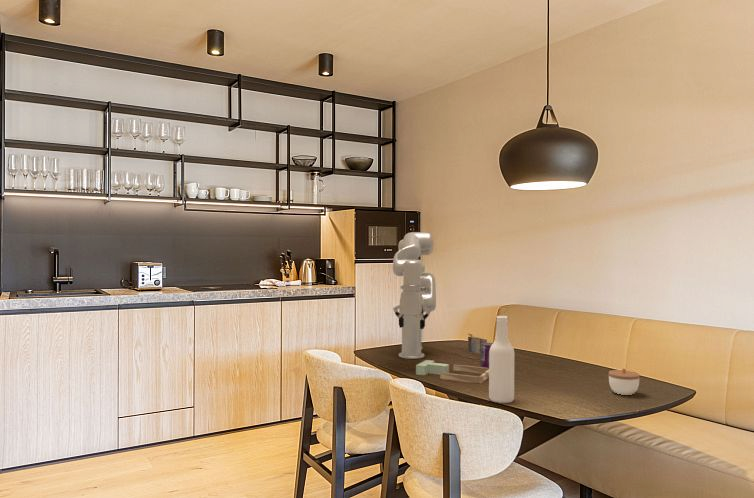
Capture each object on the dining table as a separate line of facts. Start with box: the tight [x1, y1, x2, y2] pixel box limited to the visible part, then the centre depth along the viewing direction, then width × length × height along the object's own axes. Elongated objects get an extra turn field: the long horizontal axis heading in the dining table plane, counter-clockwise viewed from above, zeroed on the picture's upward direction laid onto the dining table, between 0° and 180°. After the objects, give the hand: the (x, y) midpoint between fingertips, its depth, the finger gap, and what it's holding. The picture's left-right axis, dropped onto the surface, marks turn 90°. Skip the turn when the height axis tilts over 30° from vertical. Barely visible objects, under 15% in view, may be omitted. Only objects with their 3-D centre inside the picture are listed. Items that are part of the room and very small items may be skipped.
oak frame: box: [439, 364, 489, 384], centre depth 240 cm, size 18×17×2 cm
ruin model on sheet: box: [467, 333, 488, 355], centre depth 292 cm, size 11×3×10 cm, turn 32°
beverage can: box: [479, 342, 494, 368], centre depth 250 cm, size 7×7×12 cm
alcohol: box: [488, 315, 515, 404], centre depth 205 cm, size 9×9×30 cm
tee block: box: [415, 359, 450, 376], centre depth 246 cm, size 12×12×4 cm
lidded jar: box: [608, 368, 641, 396], centre depth 214 cm, size 11×11×9 cm
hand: (411, 328), depth 250 cm, fingers open, 9 cm apart
